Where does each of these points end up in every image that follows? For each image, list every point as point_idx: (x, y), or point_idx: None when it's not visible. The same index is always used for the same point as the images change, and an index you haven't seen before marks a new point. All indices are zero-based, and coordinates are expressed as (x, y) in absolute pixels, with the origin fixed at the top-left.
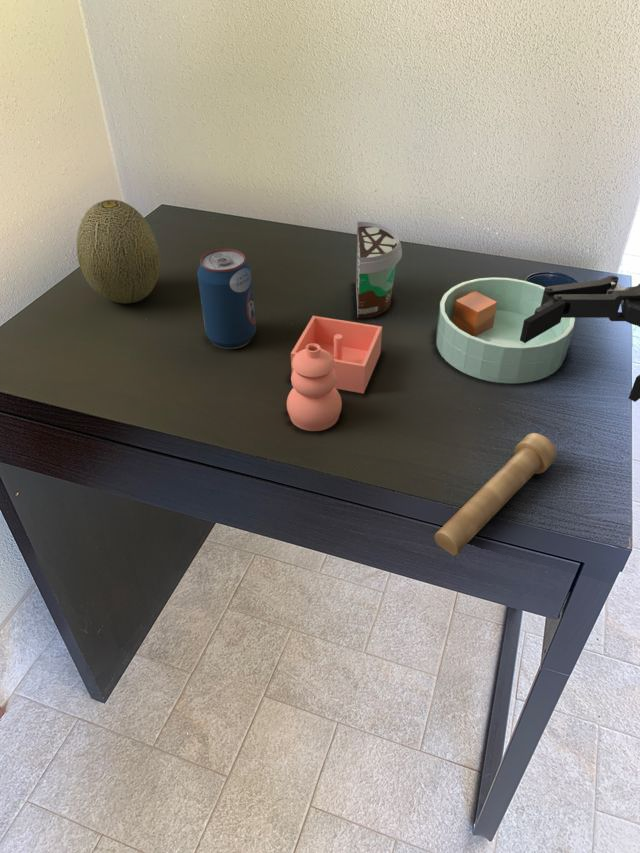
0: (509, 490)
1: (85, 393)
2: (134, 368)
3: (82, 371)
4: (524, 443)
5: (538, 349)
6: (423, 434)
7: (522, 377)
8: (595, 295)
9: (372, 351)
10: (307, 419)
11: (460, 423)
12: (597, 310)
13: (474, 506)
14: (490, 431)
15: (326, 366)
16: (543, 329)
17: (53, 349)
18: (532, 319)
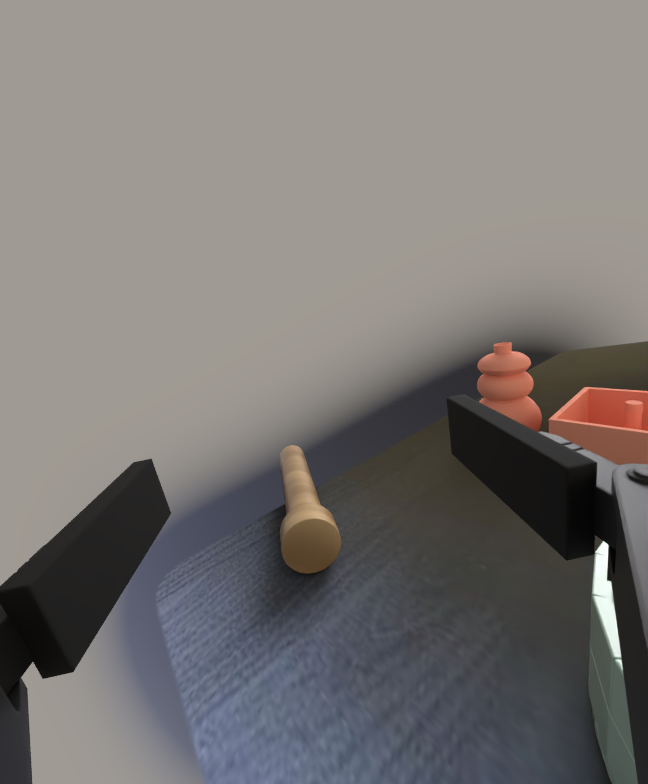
0: (285, 486)
1: (558, 364)
2: (601, 371)
3: (593, 360)
4: (316, 504)
5: (608, 659)
6: (440, 489)
7: (594, 707)
8: None
9: (608, 433)
10: None
11: (449, 528)
12: (642, 733)
13: (293, 459)
14: (414, 553)
15: (484, 362)
16: (491, 480)
17: (629, 351)
18: (459, 401)
